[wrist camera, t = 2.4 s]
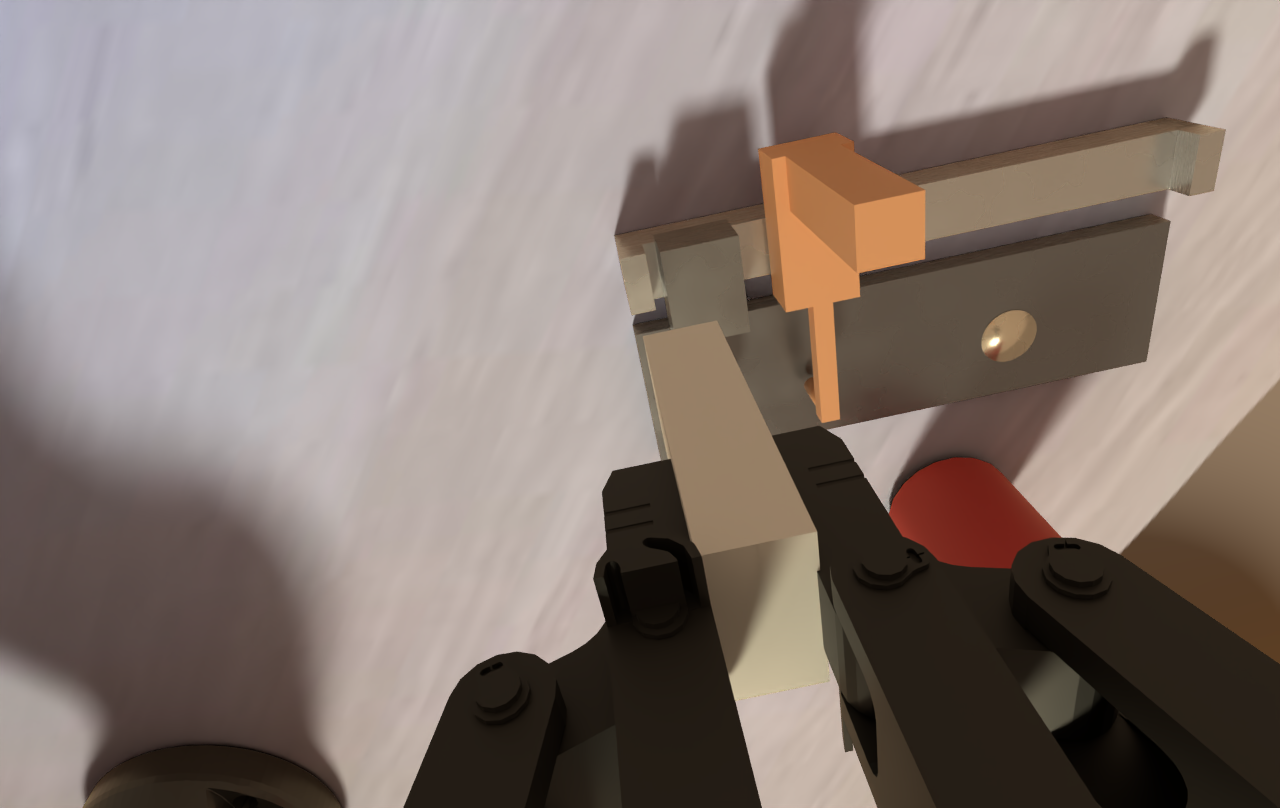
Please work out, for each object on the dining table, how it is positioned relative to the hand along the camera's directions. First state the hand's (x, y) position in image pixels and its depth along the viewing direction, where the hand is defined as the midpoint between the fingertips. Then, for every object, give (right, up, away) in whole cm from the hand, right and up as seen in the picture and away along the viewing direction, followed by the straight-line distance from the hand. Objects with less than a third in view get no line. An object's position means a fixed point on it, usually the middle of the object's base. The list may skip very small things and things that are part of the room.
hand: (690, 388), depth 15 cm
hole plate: (+11, +3, +20) cm, 23 cm away
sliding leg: (+6, +5, +16) cm, 18 cm away
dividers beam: (+10, +6, +19) cm, 22 cm away
